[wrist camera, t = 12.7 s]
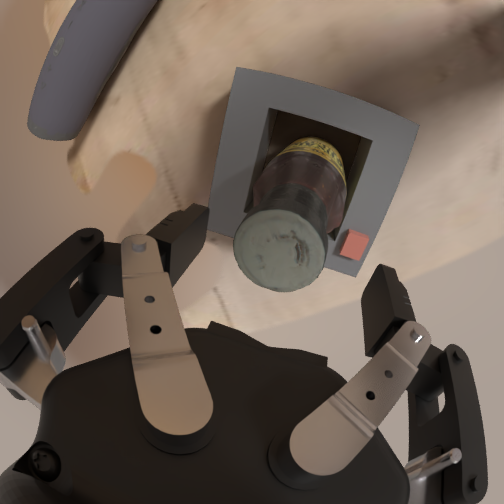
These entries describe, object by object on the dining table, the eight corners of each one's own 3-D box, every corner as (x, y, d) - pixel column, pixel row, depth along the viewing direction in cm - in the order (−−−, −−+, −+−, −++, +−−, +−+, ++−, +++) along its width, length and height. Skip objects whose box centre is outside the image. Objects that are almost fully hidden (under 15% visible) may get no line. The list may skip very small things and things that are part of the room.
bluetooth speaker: (142, -29, 19) (93, -49, 10) (191, -10, 20) (144, -38, 12) (64, 104, 30) (12, 116, 22) (98, 134, 32) (44, 152, 23)
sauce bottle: (350, 149, 26) (396, 228, 10) (327, 200, 30) (325, 333, 13) (292, 124, 27) (237, 158, 10) (272, 177, 30) (201, 283, 13)
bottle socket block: (401, 120, 23) (422, 125, 18) (351, 248, 32) (356, 282, 26) (252, 73, 25) (233, 65, 19) (223, 207, 33) (201, 232, 28)
